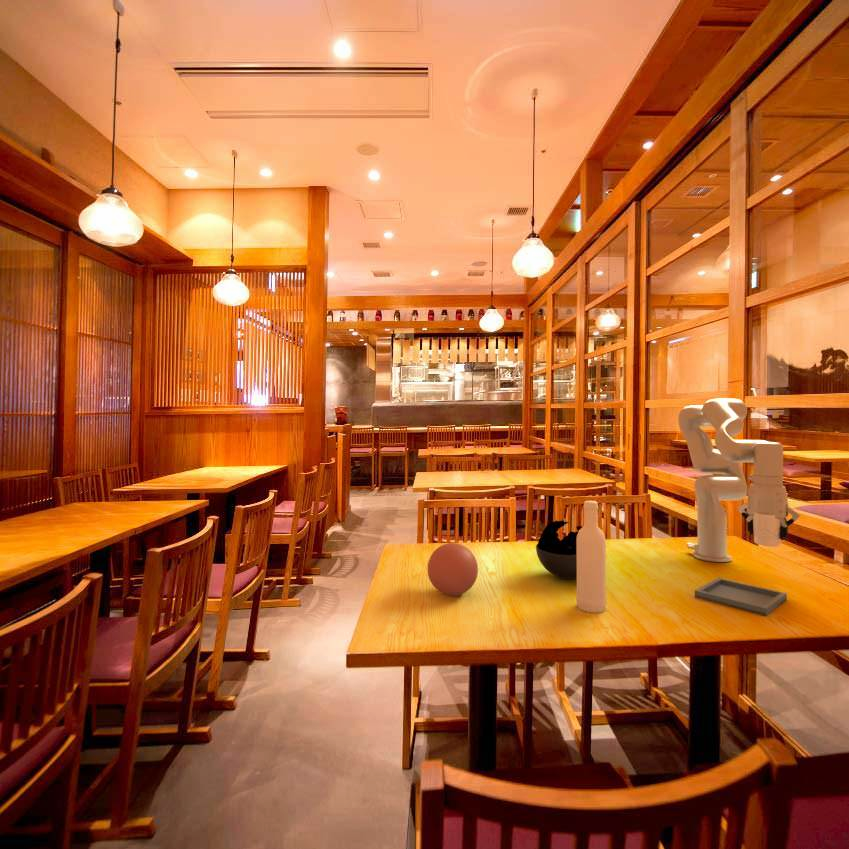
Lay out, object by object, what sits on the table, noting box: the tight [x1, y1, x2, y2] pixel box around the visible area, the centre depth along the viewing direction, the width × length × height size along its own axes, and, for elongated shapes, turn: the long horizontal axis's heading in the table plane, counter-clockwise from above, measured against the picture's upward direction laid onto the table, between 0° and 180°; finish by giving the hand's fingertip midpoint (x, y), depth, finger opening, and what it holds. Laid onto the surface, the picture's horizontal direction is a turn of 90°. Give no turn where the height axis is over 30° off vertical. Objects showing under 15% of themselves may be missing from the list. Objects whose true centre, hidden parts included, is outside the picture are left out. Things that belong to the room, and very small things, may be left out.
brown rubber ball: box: [427, 542, 479, 596], centre depth 148 cm, size 15×20×15 cm
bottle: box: [576, 500, 607, 614], centre depth 134 cm, size 8×8×30 cm
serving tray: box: [694, 577, 788, 617], centre depth 140 cm, size 18×18×2 cm
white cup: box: [753, 512, 782, 548], centre depth 150 cm, size 8×8×10 cm
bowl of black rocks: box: [535, 520, 583, 580], centre depth 160 cm, size 20×20×19 cm
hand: (767, 536), depth 150 cm, fingers closed on white cup, 7 cm apart
